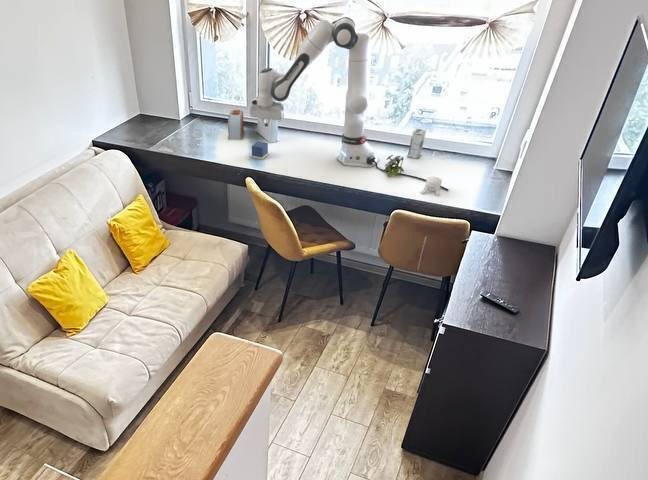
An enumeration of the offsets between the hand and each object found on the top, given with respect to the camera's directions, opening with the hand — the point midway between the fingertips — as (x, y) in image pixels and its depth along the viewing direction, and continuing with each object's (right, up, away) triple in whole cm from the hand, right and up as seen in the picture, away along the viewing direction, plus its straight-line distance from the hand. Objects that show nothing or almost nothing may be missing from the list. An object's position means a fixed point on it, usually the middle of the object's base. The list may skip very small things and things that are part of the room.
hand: (266, 126), depth 309 cm
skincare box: (+3, +8, +35) cm, 36 cm away
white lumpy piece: (+83, -48, -31) cm, 100 cm away
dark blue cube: (-3, -7, +8) cm, 12 cm away
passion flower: (+69, -31, -12) cm, 77 cm away
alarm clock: (-17, +11, +40) cm, 45 cm away
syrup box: (+86, -17, +2) cm, 87 cm away
